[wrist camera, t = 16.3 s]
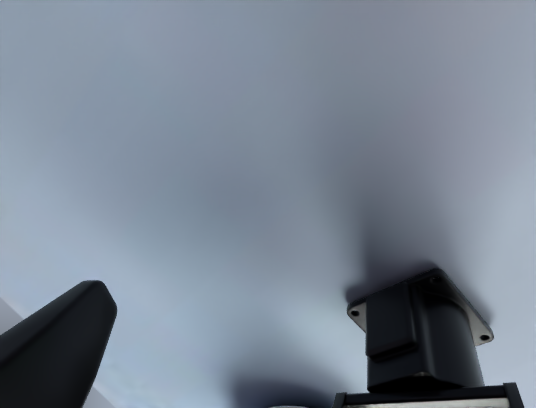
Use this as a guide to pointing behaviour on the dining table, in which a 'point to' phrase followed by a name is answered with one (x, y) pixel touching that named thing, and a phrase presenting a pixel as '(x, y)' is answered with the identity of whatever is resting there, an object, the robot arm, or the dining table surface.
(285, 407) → the flower in vase
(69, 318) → the robot arm
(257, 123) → the dining table surface
